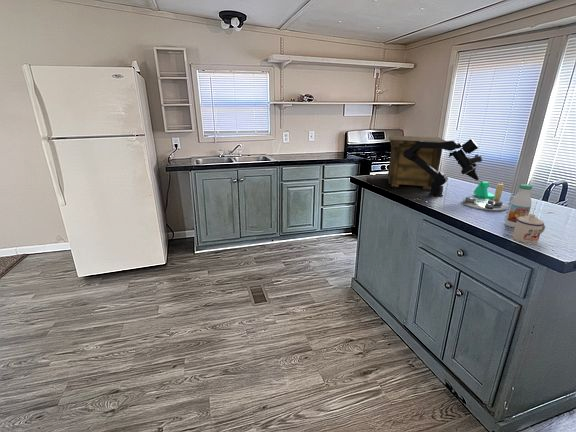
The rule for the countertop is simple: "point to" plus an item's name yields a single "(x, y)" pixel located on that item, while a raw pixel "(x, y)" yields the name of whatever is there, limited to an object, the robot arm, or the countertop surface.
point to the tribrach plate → (482, 204)
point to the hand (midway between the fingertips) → (478, 180)
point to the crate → (407, 169)
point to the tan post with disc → (497, 196)
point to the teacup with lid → (528, 229)
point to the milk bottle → (519, 205)
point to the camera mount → (483, 191)
